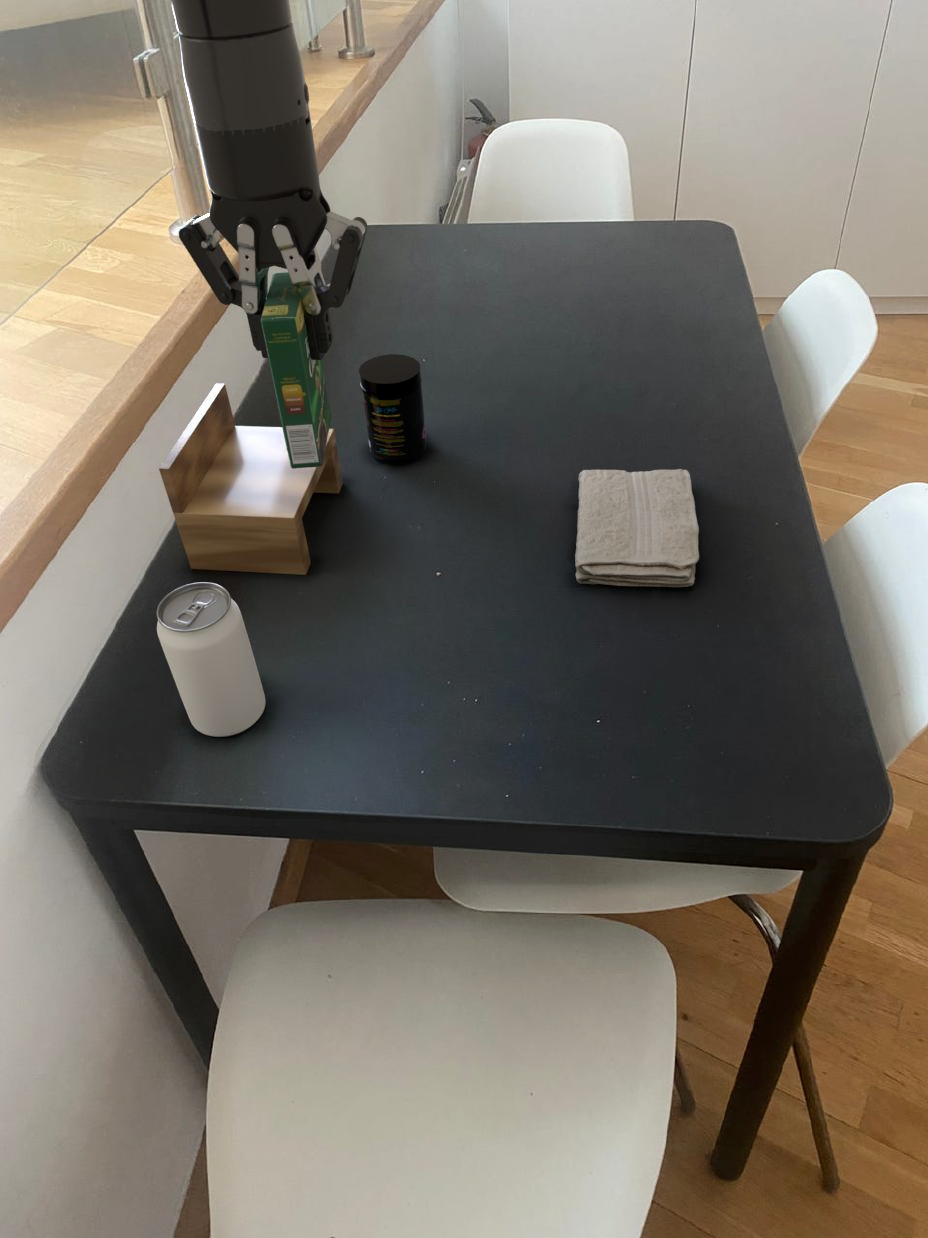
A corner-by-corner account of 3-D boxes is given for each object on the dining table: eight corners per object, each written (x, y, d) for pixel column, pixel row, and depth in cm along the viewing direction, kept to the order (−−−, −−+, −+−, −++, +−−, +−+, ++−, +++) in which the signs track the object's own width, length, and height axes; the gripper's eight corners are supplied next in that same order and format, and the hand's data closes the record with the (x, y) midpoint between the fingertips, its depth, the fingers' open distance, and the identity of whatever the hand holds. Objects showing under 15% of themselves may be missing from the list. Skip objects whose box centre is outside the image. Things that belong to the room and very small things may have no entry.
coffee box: (324, 470, 74) (296, 313, 65) (289, 472, 74) (256, 316, 65) (333, 418, 80) (309, 268, 71) (300, 420, 80) (272, 270, 71)
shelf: (306, 575, 91) (284, 473, 83) (190, 569, 93) (158, 468, 84) (343, 483, 103) (327, 385, 94) (240, 479, 104) (216, 383, 96)
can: (281, 695, 79) (253, 590, 71) (237, 749, 75) (202, 644, 67) (220, 674, 81) (185, 570, 73) (174, 726, 77) (132, 621, 69)
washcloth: (574, 590, 87) (575, 565, 85) (575, 482, 100) (576, 458, 98) (701, 593, 86) (705, 568, 84) (685, 484, 99) (689, 460, 97)
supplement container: (431, 462, 105) (424, 379, 98) (372, 470, 104) (361, 387, 97) (423, 432, 110) (416, 350, 103) (367, 439, 109) (356, 358, 102)
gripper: (125, 125, 58) (192, 375, 70) (341, 123, 56) (373, 381, 68) (170, 94, 63) (226, 330, 75) (369, 91, 61) (394, 335, 73)
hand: (295, 353), depth 71 cm, fingers closed on coffee box, 3 cm apart
